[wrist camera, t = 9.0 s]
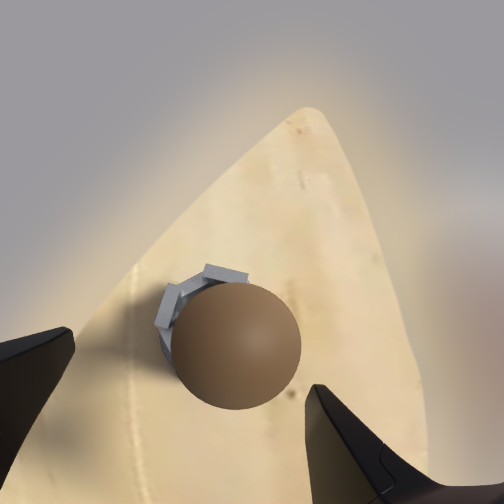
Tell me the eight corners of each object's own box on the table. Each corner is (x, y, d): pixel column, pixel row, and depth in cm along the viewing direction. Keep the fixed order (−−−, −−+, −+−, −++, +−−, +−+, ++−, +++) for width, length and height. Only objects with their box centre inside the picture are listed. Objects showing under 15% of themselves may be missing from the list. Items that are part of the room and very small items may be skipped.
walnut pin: (238, 352, 20) (301, 403, 7) (192, 352, 20) (172, 409, 6) (238, 307, 21) (299, 282, 8) (192, 306, 20) (170, 280, 7)
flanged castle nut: (257, 397, 19) (267, 399, 15) (149, 368, 19) (130, 362, 15) (278, 296, 24) (291, 273, 19) (180, 273, 24) (171, 244, 20)
